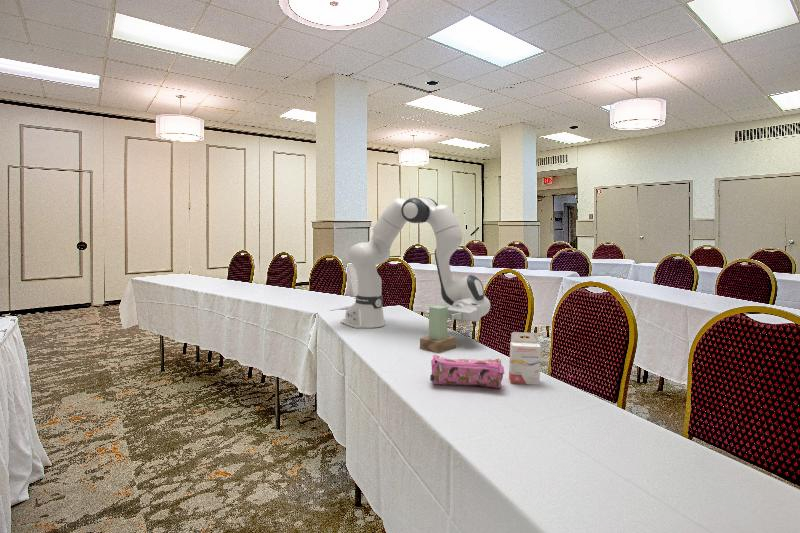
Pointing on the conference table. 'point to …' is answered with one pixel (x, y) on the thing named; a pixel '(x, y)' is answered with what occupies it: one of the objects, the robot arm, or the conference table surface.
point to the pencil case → (467, 372)
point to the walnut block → (437, 344)
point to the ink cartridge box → (524, 358)
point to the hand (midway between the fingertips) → (441, 315)
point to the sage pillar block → (438, 322)
